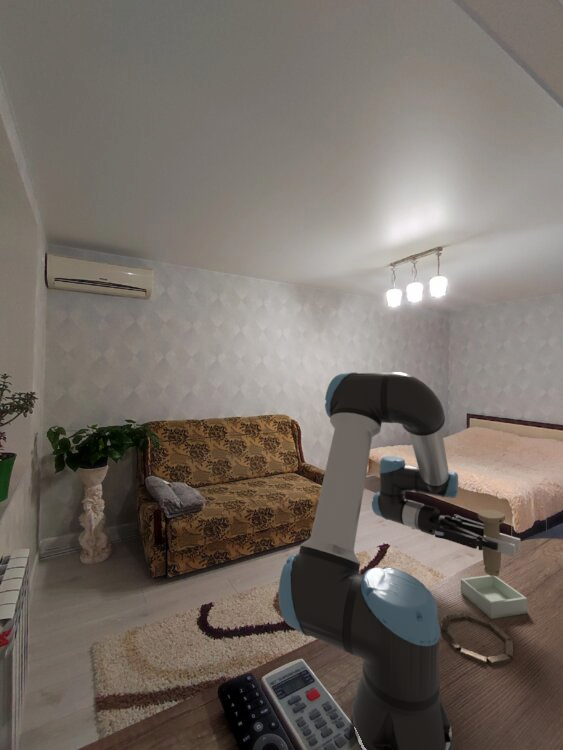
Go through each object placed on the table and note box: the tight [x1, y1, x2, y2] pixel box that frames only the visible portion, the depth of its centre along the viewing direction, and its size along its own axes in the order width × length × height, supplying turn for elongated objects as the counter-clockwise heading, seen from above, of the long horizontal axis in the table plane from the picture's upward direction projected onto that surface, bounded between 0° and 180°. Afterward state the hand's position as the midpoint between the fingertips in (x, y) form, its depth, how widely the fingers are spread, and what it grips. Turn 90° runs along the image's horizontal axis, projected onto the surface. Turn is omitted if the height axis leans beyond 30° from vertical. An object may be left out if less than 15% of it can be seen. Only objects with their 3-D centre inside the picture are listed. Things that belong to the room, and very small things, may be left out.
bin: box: [460, 574, 528, 620], centre depth 85 cm, size 10×10×4 cm
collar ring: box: [440, 612, 514, 667], centre depth 73 cm, size 13×13×1 cm
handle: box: [477, 509, 506, 577], centre depth 85 cm, size 5×6×15 cm
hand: (517, 547), depth 81 cm, fingers closed on handle, 3 cm apart
